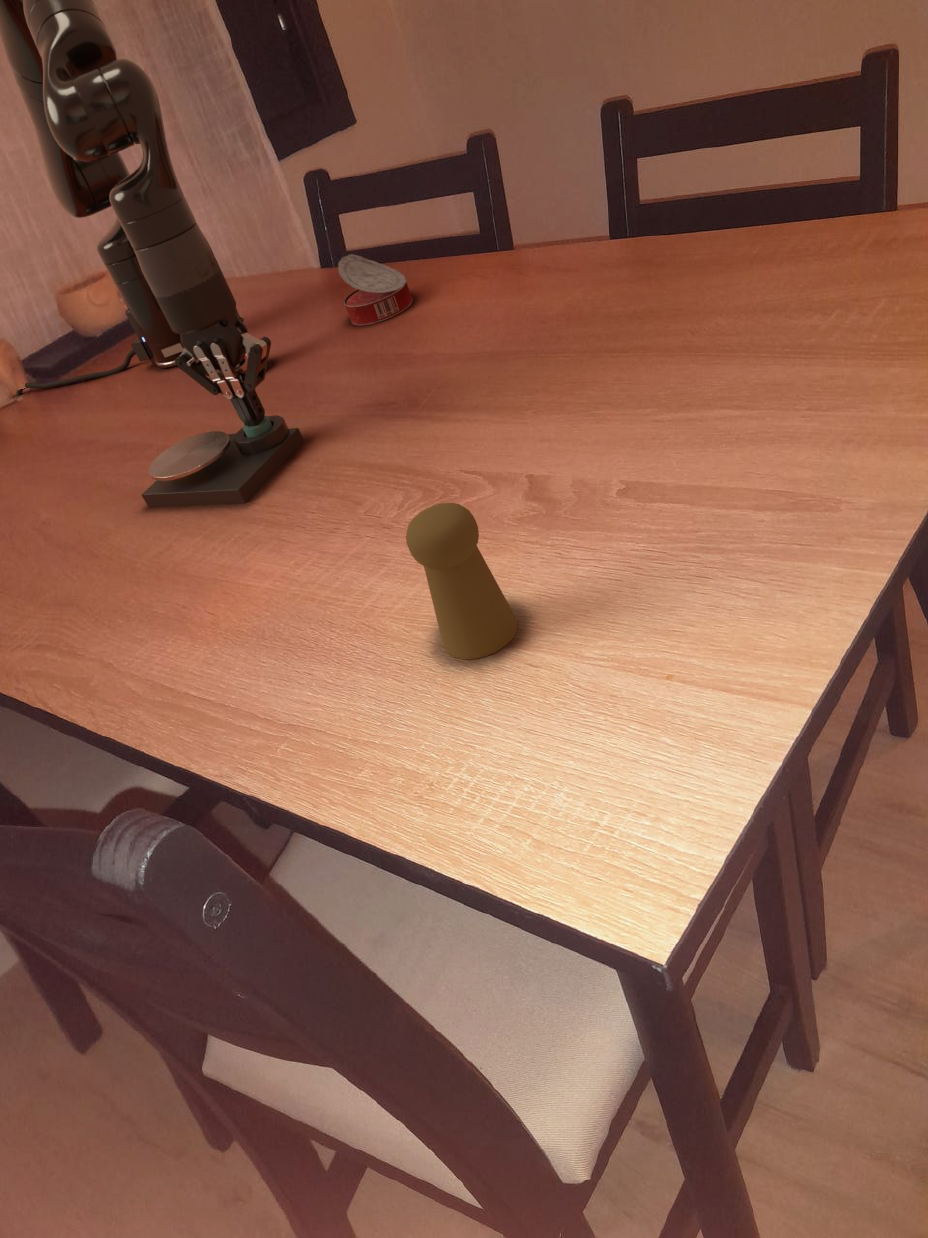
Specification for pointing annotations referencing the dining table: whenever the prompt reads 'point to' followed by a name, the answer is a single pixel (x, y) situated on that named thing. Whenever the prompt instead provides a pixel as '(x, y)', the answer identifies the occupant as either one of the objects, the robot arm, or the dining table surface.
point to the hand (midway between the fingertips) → (255, 422)
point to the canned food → (373, 290)
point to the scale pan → (189, 456)
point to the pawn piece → (460, 582)
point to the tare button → (258, 428)
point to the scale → (231, 470)
